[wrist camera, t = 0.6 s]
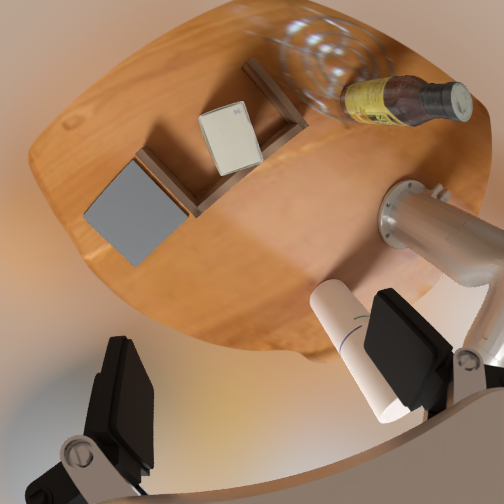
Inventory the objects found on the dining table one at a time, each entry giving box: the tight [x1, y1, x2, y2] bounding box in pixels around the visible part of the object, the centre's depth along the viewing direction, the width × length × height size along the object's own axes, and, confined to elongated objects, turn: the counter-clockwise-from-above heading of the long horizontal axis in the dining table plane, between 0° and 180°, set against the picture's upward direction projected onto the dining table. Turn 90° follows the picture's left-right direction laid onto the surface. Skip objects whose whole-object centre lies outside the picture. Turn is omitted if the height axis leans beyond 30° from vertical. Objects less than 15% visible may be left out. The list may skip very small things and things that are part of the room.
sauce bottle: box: [340, 75, 473, 127], centre depth 26 cm, size 6×6×20 cm
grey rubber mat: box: [83, 160, 188, 267], centre depth 36 cm, size 11×11×1 cm
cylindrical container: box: [310, 279, 410, 423], centre depth 37 cm, size 7×7×25 cm
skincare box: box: [198, 101, 263, 176], centre depth 29 cm, size 6×4×12 cm
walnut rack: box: [135, 57, 309, 218], centre depth 33 cm, size 18×11×4 cm, turn 129°
